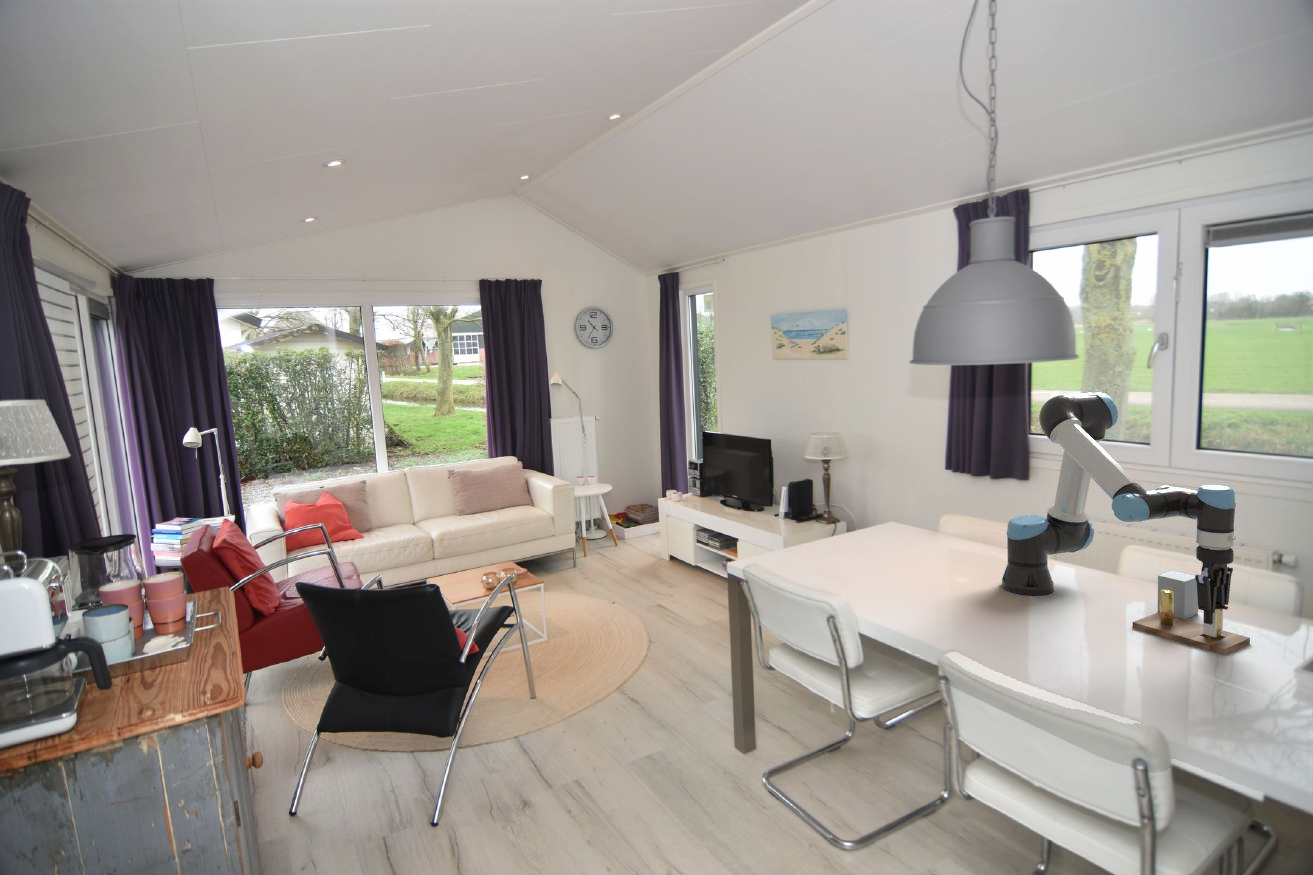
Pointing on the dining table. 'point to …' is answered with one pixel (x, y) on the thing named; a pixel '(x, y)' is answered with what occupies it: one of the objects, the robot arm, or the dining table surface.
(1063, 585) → the dining table surface
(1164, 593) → the pin
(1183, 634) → the board
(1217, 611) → the pin
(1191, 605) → the block
